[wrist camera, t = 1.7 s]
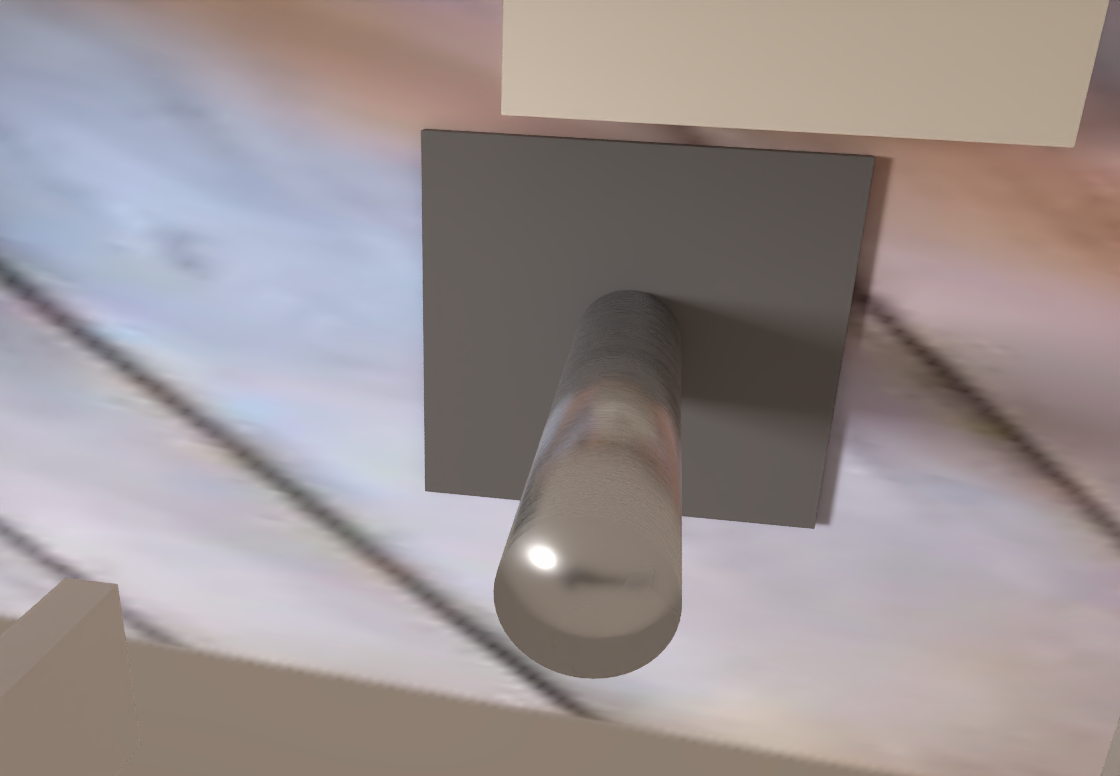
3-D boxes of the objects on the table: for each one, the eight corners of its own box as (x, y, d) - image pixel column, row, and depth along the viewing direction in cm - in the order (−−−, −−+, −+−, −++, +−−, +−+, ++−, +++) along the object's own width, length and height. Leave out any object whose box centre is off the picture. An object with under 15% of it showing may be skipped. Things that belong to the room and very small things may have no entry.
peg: (573, 384, 28) (492, 667, 16) (578, 286, 27) (495, 509, 15) (676, 393, 27) (673, 688, 15) (685, 294, 26) (690, 527, 14)
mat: (428, 485, 30) (425, 490, 30) (424, 128, 26) (421, 130, 26) (812, 522, 29) (814, 528, 28) (872, 155, 25) (875, 157, 24)
